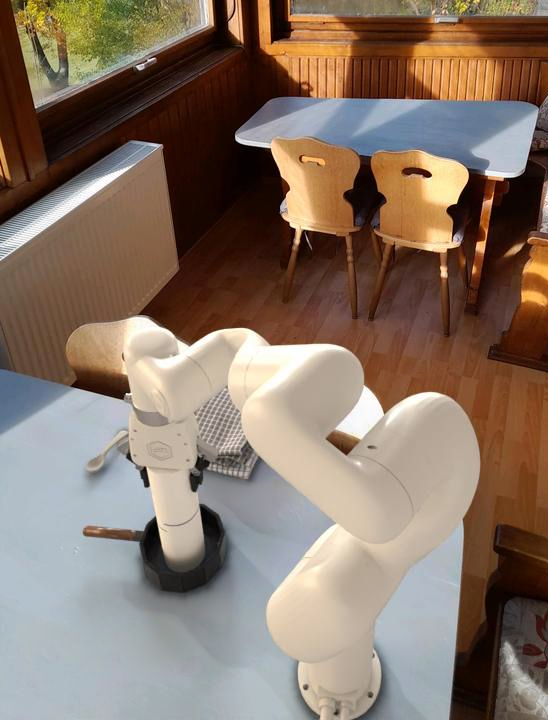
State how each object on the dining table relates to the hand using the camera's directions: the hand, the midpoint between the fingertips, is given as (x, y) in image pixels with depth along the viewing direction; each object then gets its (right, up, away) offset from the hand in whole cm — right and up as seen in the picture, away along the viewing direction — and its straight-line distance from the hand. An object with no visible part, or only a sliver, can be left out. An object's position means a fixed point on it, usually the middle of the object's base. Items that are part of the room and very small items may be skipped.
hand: (173, 482), depth 108 cm
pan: (-6, -16, +10) cm, 20 cm away
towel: (+5, -3, +32) cm, 32 cm away
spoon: (-20, -5, +29) cm, 35 cm away
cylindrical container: (0, -16, +10) cm, 19 cm away
